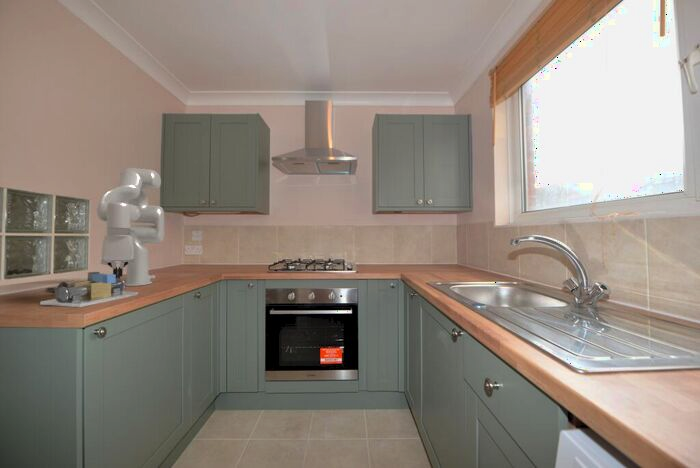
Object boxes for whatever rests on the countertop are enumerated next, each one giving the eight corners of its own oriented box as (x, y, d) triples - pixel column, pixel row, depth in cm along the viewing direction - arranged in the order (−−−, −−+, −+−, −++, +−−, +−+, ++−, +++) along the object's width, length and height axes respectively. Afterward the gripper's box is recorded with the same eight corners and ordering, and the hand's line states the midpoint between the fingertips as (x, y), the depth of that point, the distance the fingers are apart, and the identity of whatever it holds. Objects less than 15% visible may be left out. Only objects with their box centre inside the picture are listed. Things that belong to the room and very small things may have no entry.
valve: (107, 296, 139) (68, 297, 125) (73, 295, 148) (32, 296, 134) (109, 282, 140) (71, 282, 126) (75, 282, 149) (35, 281, 135)
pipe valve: (103, 293, 135) (104, 276, 136) (137, 294, 132) (138, 277, 132) (40, 304, 112) (40, 284, 112) (79, 307, 109) (80, 286, 109)
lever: (85, 281, 121) (85, 272, 121) (96, 280, 125) (96, 271, 125) (106, 283, 115) (106, 274, 115) (116, 282, 118) (116, 273, 118)
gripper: (140, 233, 128) (140, 276, 128) (95, 232, 120) (94, 279, 119) (141, 233, 122) (140, 278, 122) (93, 232, 114) (92, 281, 113)
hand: (117, 278), depth 121 cm, fingers closed
